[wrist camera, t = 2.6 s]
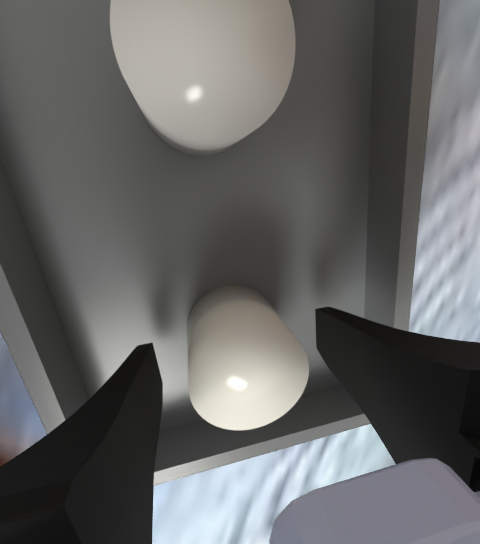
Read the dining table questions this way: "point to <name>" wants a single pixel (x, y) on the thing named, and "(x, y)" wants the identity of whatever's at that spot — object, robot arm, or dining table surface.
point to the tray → (205, 211)
